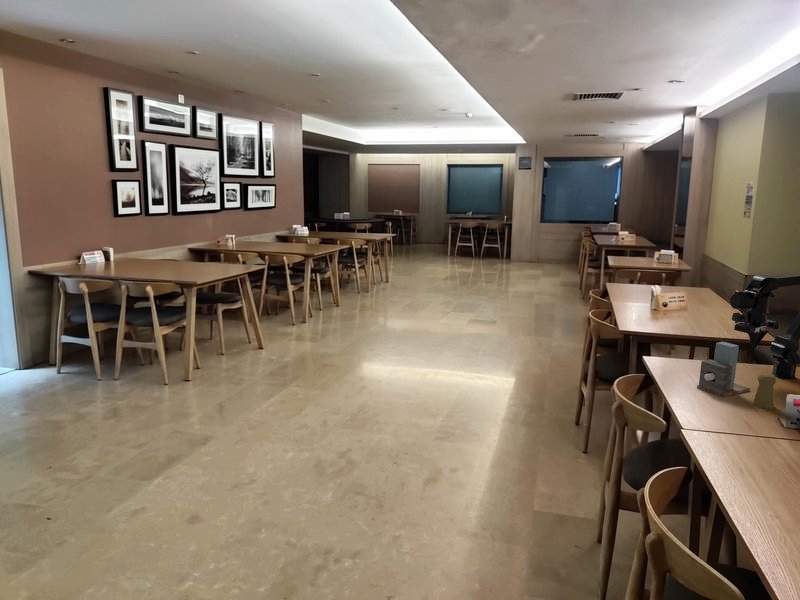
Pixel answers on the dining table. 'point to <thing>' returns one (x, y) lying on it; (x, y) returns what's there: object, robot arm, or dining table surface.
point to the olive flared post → (765, 391)
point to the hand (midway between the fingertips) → (753, 347)
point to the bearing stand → (718, 379)
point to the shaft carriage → (725, 359)
